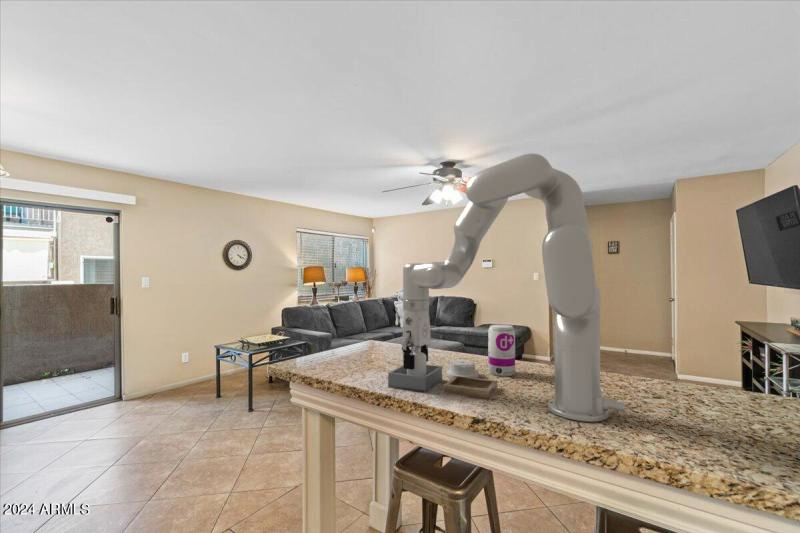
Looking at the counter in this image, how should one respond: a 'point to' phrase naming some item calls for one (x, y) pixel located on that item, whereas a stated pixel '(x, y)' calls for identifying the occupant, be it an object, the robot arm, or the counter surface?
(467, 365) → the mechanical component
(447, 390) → the shallow brown tray
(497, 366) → the supplement can
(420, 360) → the eye dropper bottle
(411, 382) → the bin
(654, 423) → the counter surface
